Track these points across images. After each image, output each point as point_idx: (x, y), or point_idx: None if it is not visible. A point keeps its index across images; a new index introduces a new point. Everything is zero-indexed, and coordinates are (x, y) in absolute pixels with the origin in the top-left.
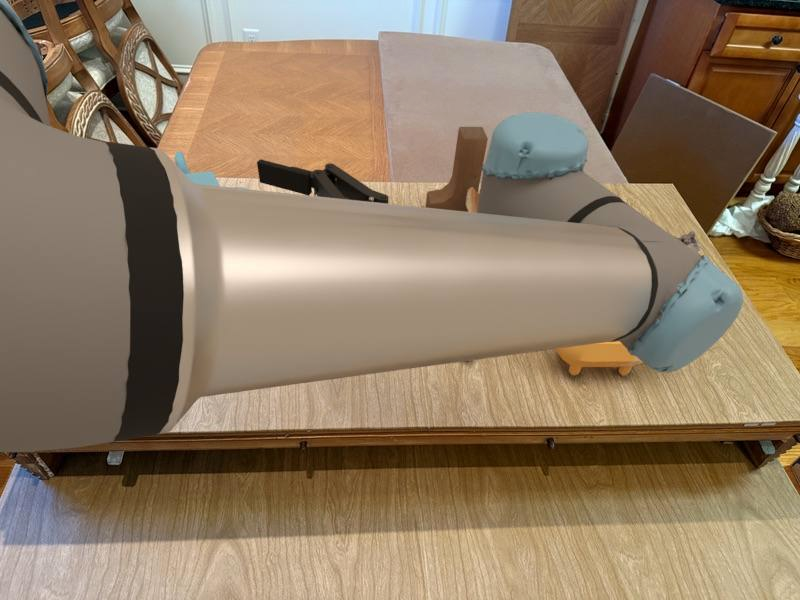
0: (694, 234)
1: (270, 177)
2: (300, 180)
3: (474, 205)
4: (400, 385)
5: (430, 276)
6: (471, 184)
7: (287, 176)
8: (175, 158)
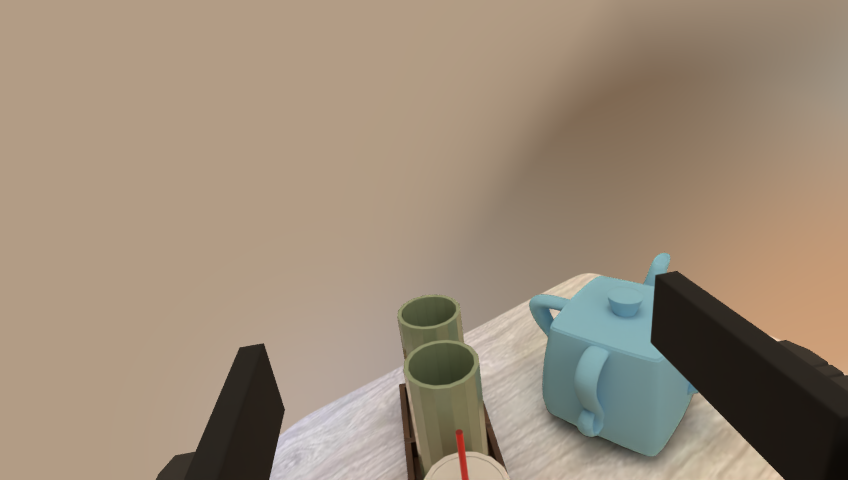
0: None
1: (681, 342)
2: (793, 419)
3: None
4: None
5: None
6: None
7: (739, 369)
8: (653, 260)
